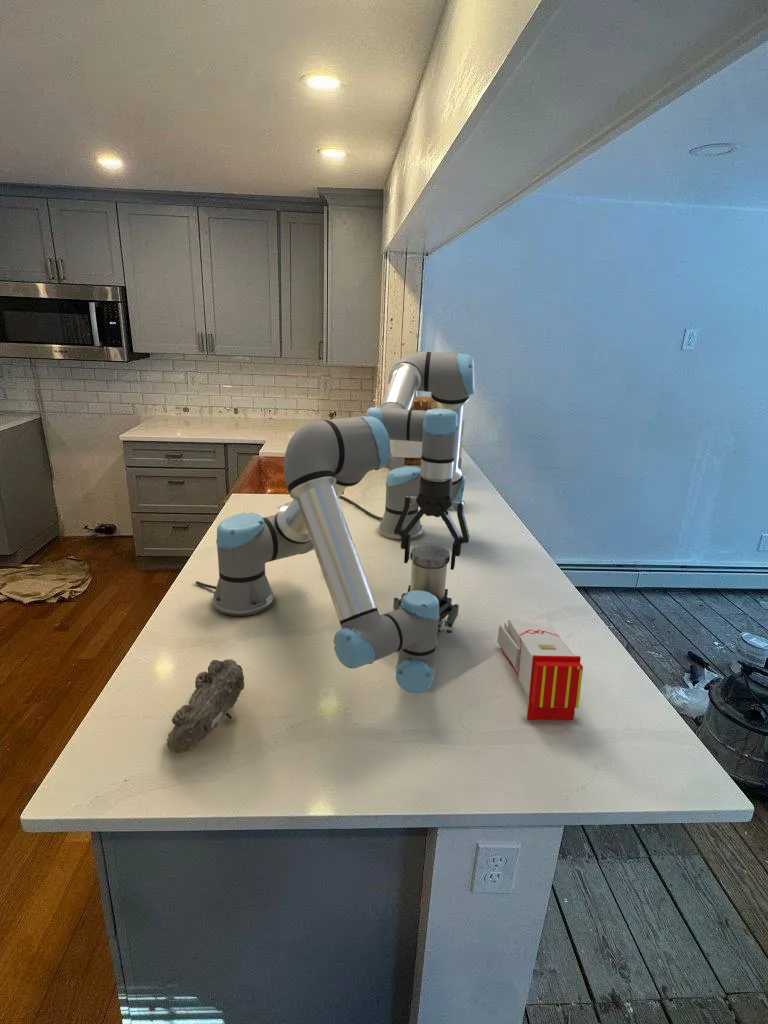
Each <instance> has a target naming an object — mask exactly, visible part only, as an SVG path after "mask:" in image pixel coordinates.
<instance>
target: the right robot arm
mask: <svg viewBox="0 0 768 1024" xmlns="http://www.w3.org/2000/svg"><path fill="white" fill-rule="evenodd" d="M416 392H428V393H430V397H431V398H432V400H433V401H434V402H435V403H436V405H435V409H430V410H427V411H421V410H410V407H411V404H412V400H413V397H414V396H415V393H416ZM474 394H475V361H474V358H473V356H472V355H471V354H467V353H459V352H437V351H416V352H413V353H410V354H407V355H406V356H403V357H402V358H400V359H399V360H398V361H396V363H395V364H394V365H393V366H392V367H391V369H390V371H389V374H388V386H387V388H386V391H385V394H384V396H383V398H382V401H381V403H380V406H376V407H375V406H374V407H369V408H368V409H367V411H366V415H365V417H366V416H372V417H375V418H377V419H378V420H380V421H381V423H382V424H383V425H384V427H385V429H386V431H387V433H388V436H389V440H405V441H417V442H422V455H421V466H418V467H417V466H404V467H400V468H396V469H393V470H391V471H390V470H389V471H388V473H387V475H386V482H385V504H384V505H385V507H384V508H385V509H384V513H383V515H382V517H381V516H377V515H375V514H373V513H371V512H369V511H368V510H367V509H365V508H363V507H362V506H360V505H359V504H357V503H356V502H354V501H352V500H351V499H349V498H347V497H345V496H343V495H342V494H341V495H340V497H339V498H341V499H342V500H344V501H347V502H348V503H350V504H352V505H353V506H354V507H357V509H359V510H361V511H362V512H364V513H366V514H367V515H369V516H370V517H372V518H374V519H377V520H380V521H381V522H379V525H378V533H379V534H380V535H381V536H382V537H385V538H387V539H389V540H395V541H400V549H401V550H404V556H403V557H404V558H403V563H404V564H408V562H409V561H410V553H411V540H415V539H418V538H420V537H421V536H422V535H423V525H422V524H421V519H422V517H423V516H426V517H435V518H440V517H441V520H442V521H443V522H444V524H445V525H446V527H447V529H448V531H449V533H450V536H451V537H452V538H453V542H452V545H451V546H452V547H451V556H450V567H449V568H450V570H452V571H454V570H455V566H456V557H460V556H461V552H462V544H468V543H469V542H470V539H471V536H470V532H469V526H468V523H467V520H466V516H465V512H464V508H465V507H464V506H465V501H464V500H463V496H464V493H465V492H464V491H465V486H466V477H465V476H463V474H462V469H461V470H460V469H459V468H458V458H459V447H460V439H461V438H460V436H461V425H462V419H463V414H464V413H463V412H464V405H465V404H466V403H467V402H468V401H469V400H470V396H472V395H474ZM449 510H454V511H455V512H456V516H457V520H458V524H459V529H460V531H461V533H460V532H459V530H458V528H457V526H456V524H455V522H454V520H453V519H452V516H451V514H450V512H449ZM461 535H462V536H461Z"/></svg>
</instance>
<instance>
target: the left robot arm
mask: <svg viewBox="0 0 768 1024" xmlns="http://www.w3.org/2000/svg"><path fill="white" fill-rule="evenodd" d="M285 449H286V450H285V453H284V459H283V477H284V482H285V485H286V489H287V492H288V494H289V497H290V498H292V501H290V502H286V503H284V504H283V505H282V506H280V508H279V509H278V511H277V513H276V514H274V515H269V516H264V517H263V516H262V515H261V514H259V513H255V512H248V513H246V512H243V513H241V512H240V513H237V514H233V515H230V516H228V517H226V518H225V519H223V520H222V521H221V522H220V523H219V524H218V525H217V528H216V540H215V543H216V544H215V545H216V549H217V563H218V579H217V584H216V585H211V584H207V583H203V582H201V581H198V580H196V581H195V584H196V585H199V586H201V587H204V588H209V589H212V590H214V593H213V598H212V599H213V608H214V609H215V611H217V612H219V613H220V614H222V615H226V616H228V617H229V616H230V617H247V616H253V615H257V614H260V613H262V612H264V611H266V610H268V609H269V608H270V607H271V606H272V605H273V602H274V593H273V589H272V587H271V585H270V582H269V580H268V578H267V575H266V563H269V562H274V561H277V560H282V559H286V558H289V557H293V556H297V555H304V554H308V553H309V552H312V551H314V552H315V555H316V559H317V562H318V564H319V566H320V569H321V572H322V576H323V578H324V581H325V584H326V587H327V590H328V592H329V596H330V599H331V602H332V605H333V606H334V610H335V612H336V615H337V618H338V621H339V624H340V627H341V628H340V629H339V630H337V631H336V632H335V634H334V636H333V645H334V648H333V650H334V653H335V655H336V657H337V659H338V661H339V662H340V663H341V664H342V666H344V667H345V668H347V669H353V670H355V669H358V668H360V667H364V666H367V665H371V664H374V662H376V661H378V660H381V659H383V658H385V657H389V656H390V655H392V654H395V653H397V654H398V655H397V656H398V657H397V664H396V666H395V682H396V683H397V685H398V687H399V688H400V689H401V690H402V691H404V692H405V693H407V694H408V693H409V694H414V695H419V694H423V693H425V692H427V691H428V690H429V689H430V688H431V687H432V684H433V680H434V678H435V666H436V655H437V648H438V638H439V633H441V631H446V633H447V634H452V633H453V626H454V624H455V622H456V619H457V618H458V615H459V607H460V605H459V604H458V603H456V604H452V602H453V599H452V597H448V593H449V588H445V594H444V605H443V606H442V607H441V608H440V609H439V601H438V599H437V597H436V596H434V595H432V594H431V593H429V592H426V591H420V590H415V591H410V586H411V584H408V587H407V592H403V593H402V594H401V595H400V598H398V597H394V598H393V602H392V603H393V605H392V608H393V610H392V611H389V612H386V613H383V614H380V612H379V609H378V607H377V604H376V601H375V599H374V595H373V593H372V591H371V588H370V585H369V581H368V578H367V576H366V574H365V570H364V568H363V565H362V562H361V559H360V557H359V555H358V550H357V549H356V546H355V542H354V540H353V538H352V535H351V531H350V529H349V526H348V523H347V521H346V518H345V515H344V513H343V509H342V507H341V504H340V501H339V498H340V495H341V496H342V494H343V493H344V492H345V490H346V489H347V488H350V487H354V486H356V485H358V484H360V482H361V481H362V480H363V479H364V477H366V475H367V474H368V473H369V472H371V471H379V470H380V469H383V468H385V467H387V466H386V465H387V463H388V461H389V458H390V451H391V449H390V440H389V436H388V433H387V431H386V429H385V427H384V425H383V424H382V423H381V421H380V420H378V419H377V418H375V417H372V416H366V415H365V416H364V415H358V416H353V417H352V416H351V417H345V418H334V419H320V420H313V421H309V422H307V423H305V424H303V425H301V427H299V428H298V429H297V430H296V431H295V432H294V433H293V435H292V436H291V438H290V440H289V441H288V443H287V447H286V448H285ZM446 617H447V618H446ZM444 619H445V620H444ZM441 620H442V621H443V620H444V622H442V624H441V623H440V621H441Z"/></svg>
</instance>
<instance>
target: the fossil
mask: <svg viewBox="0 0 768 1024" xmlns="http://www.w3.org/2000/svg"><path fill="white" fill-rule="evenodd" d="M243 670H244V669H243V667H242V665H240V664H237V662H236V661H235V660H234V659H232V658H231V659H227V658H226V659H224V660H223V661H222V660H217V659H212V660H211V661H210V663H209V665H208V666H207V671H201V672H199V673H198V674H197V675H196V676H195V680H194V684H195V685H194V687H195V689H194V690H193V693H192V694H191V697H190V698H189V700H188V704H184V705H182V706H181V707H180V709H177V710H176V711H175V713H174V715H173V716H172V718H171V723H172V724H173V727H172V730H171V731H170V732H168V734H167V738H166V741H167V742H166V745H167V749H168V750H169V751H173V752H174V753H176V754H178V753H182V752H188V751H189V752H192V751H193V750H195V748H196V747H197V746H199V744H200V743H201V742H203V741H204V740H205V739H206V738H207V737H208V736H209V735H210V734H211V733H212V732H214V730H215V729H217V727H218V726H219V724H220V722H221V721H222V720H223V719H224V718H225V716H226V717H227V719H229V720H233V717H232V715H230V714H229V710H230V709H231V708H234V706H235V704H236V703H237V702H238V699H239V697H240V695H241V693H242V691H243V690H245V689H244V688H245V675H244V671H243Z"/></svg>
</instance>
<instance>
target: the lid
mask: <svg viewBox="0 0 768 1024" xmlns="http://www.w3.org/2000/svg"><path fill="white" fill-rule="evenodd" d="M409 559H410V560H411V562H412V561H413V562H414V563H416V564H418V565H421V566H425V567H441V566H444V565H446V564H447V565H448V564H449V563H450V562H451V553H450V551H449V550H448V549H447V548H445V547H443V546H440V545H436V544H419V545H416V546H413V547H412V548H410V555H409Z"/></svg>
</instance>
